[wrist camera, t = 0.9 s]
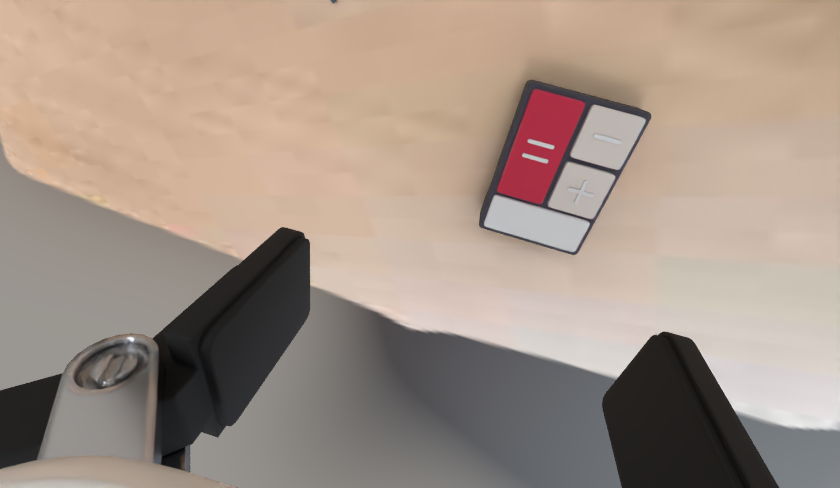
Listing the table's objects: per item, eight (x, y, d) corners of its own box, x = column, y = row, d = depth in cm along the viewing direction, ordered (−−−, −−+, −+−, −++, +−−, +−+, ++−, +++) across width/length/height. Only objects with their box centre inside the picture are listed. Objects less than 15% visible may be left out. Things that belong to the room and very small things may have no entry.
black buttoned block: (657, 114, 29) (577, 260, 37) (639, 108, 33) (570, 241, 41) (530, 80, 30) (477, 230, 38) (526, 77, 34) (479, 214, 41)
